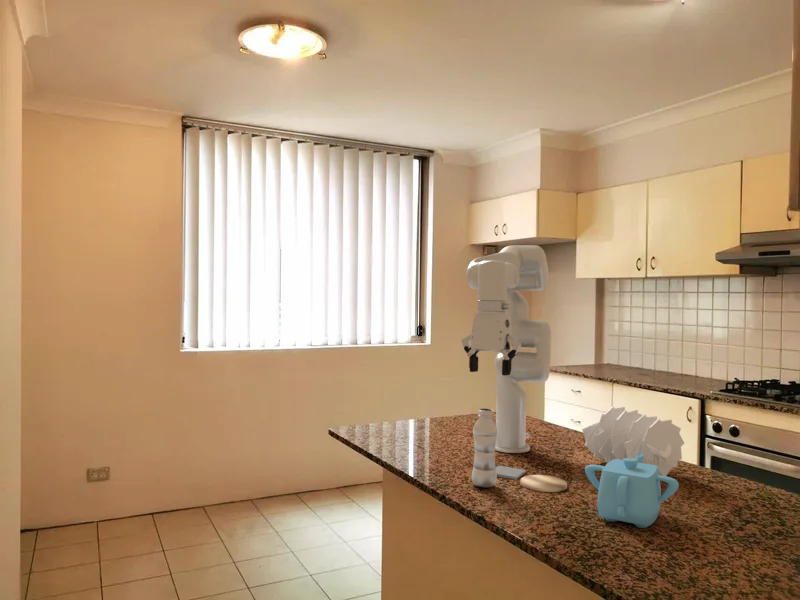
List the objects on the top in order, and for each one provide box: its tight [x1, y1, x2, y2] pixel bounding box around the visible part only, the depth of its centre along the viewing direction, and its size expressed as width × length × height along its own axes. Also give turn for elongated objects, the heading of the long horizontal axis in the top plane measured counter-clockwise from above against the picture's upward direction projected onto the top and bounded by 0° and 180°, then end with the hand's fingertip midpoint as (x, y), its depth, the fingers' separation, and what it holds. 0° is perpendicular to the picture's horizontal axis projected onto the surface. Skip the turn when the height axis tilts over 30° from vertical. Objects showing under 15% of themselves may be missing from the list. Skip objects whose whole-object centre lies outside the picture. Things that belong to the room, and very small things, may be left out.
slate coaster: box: [495, 465, 527, 481], centre depth 169 cm, size 8×8×1 cm
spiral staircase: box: [582, 406, 685, 477], centre depth 175 cm, size 18×18×25 cm
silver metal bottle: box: [471, 408, 498, 488], centre depth 157 cm, size 6×7×20 cm
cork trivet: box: [520, 474, 568, 493], centre depth 160 cm, size 12×12×1 cm
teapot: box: [584, 453, 680, 529], centre depth 138 cm, size 18×16×14 cm
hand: (489, 373), depth 158 cm, fingers open, 9 cm apart
